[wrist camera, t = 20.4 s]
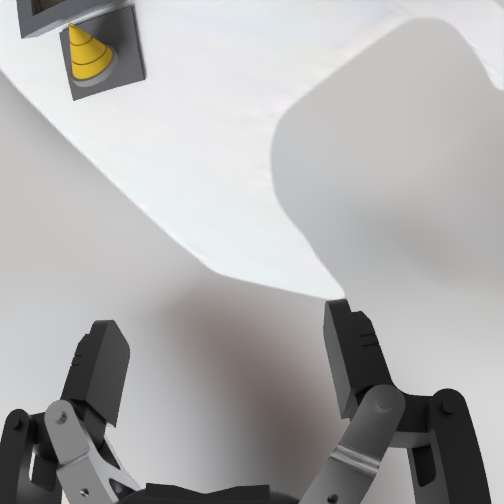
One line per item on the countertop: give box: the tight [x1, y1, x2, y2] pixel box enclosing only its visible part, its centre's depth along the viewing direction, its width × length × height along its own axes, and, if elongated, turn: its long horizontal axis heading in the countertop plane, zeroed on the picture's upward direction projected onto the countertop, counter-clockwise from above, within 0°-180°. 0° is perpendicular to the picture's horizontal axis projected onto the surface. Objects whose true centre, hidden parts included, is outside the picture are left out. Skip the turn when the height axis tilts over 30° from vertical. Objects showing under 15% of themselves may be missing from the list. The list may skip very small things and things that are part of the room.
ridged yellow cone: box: [69, 23, 118, 87], centre depth 24 cm, size 5×5×10 cm
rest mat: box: [59, 7, 145, 101], centre depth 27 cm, size 9×9×1 cm
